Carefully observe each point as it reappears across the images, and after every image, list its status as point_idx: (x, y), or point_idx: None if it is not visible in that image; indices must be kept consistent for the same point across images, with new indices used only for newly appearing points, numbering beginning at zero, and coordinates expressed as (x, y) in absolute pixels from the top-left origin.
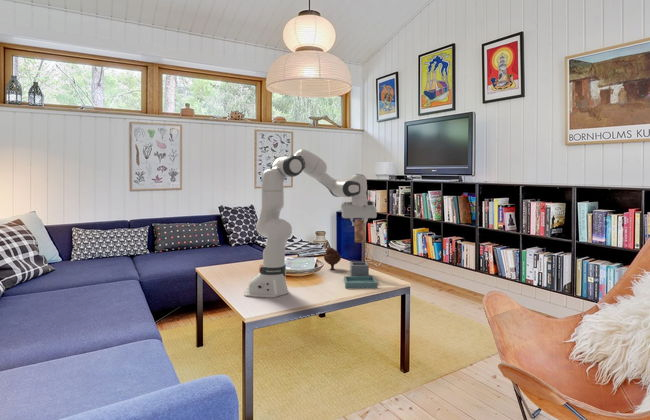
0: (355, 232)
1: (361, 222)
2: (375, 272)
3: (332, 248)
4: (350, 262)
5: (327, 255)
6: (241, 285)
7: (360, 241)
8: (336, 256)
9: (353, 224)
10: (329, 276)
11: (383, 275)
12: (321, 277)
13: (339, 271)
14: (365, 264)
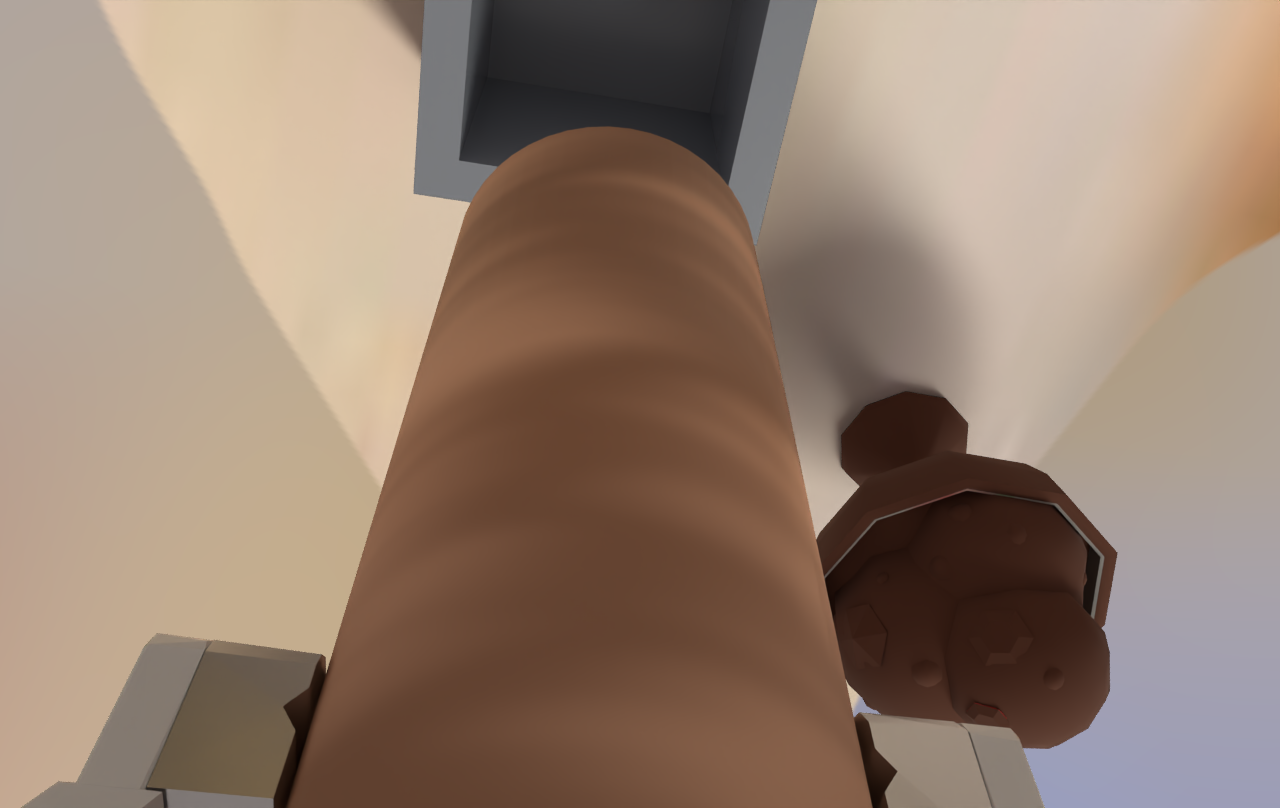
0: (792, 438)
1: (458, 752)
2: (264, 258)
3: (1008, 701)
4: (761, 192)
5: (1082, 583)
6: None
7: (592, 145)
8: (911, 558)
9: (983, 780)
10: (1071, 167)
11: (147, 45)
12: (1222, 132)
13: (810, 412)
14: (472, 21)
